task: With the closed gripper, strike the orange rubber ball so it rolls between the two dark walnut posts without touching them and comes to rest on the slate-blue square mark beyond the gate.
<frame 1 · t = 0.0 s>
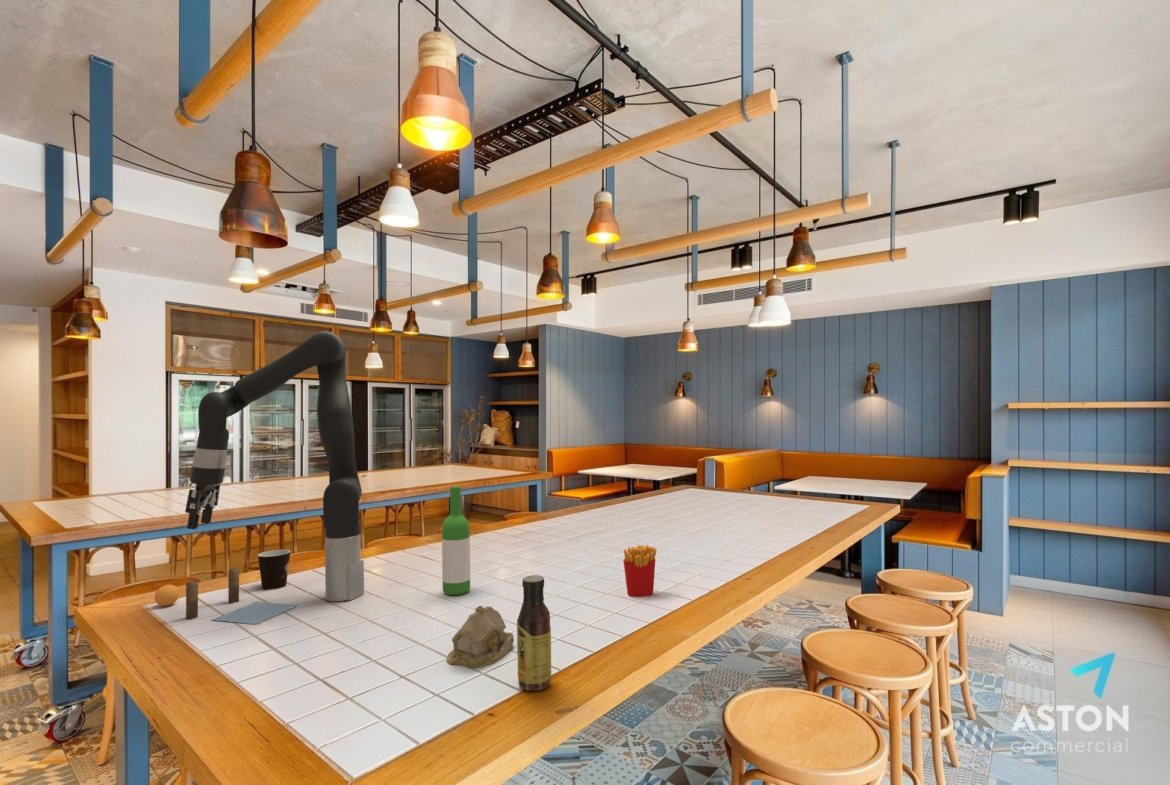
hand: (199, 525, 151), 22 cm above the table, tool pointing down, fingers open, 8 cm apart
left post: (191, 617, 144), on the table
french fries: (641, 594, 155), on the table
wine bottle: (456, 592, 161), on the table
ceramic model: (480, 655, 119), on the table
right post: (233, 601, 156), on the table
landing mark: (256, 612, 147), on the table
sauce bottle: (534, 686, 104), on the table
ball: (167, 595, 154), on the table
coffee mug: (277, 585, 171), on the table
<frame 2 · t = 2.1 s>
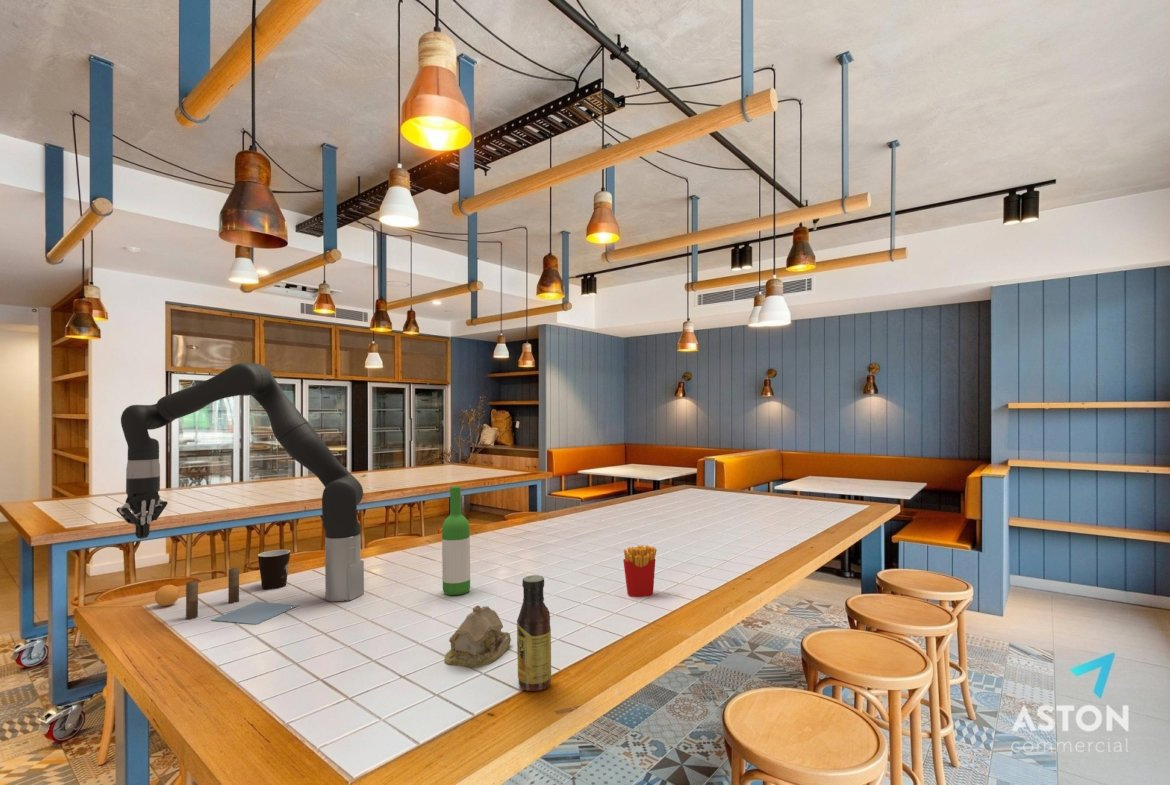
hand: (142, 537, 157), 18 cm above the table, tool pointing down, fingers closed
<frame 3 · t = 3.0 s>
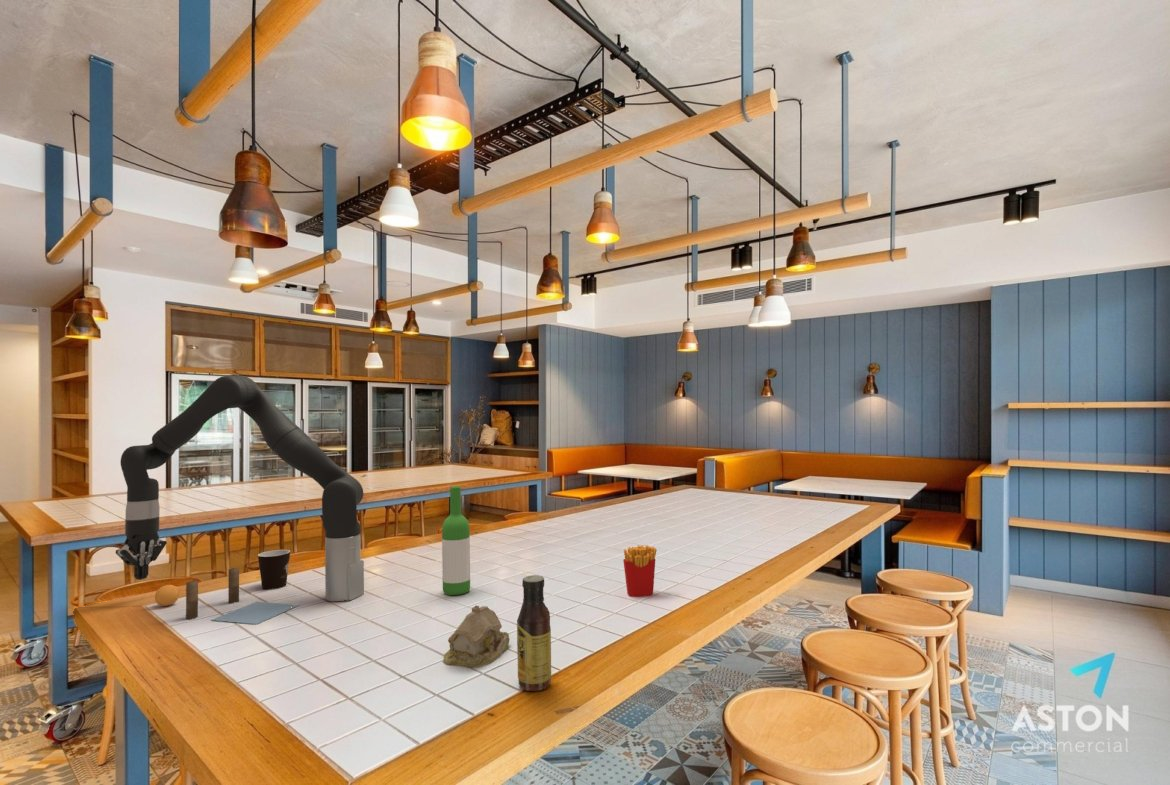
hand: (141, 578, 157), 7 cm above the table, tool pointing down, fingers closed
nothing on the table moved.
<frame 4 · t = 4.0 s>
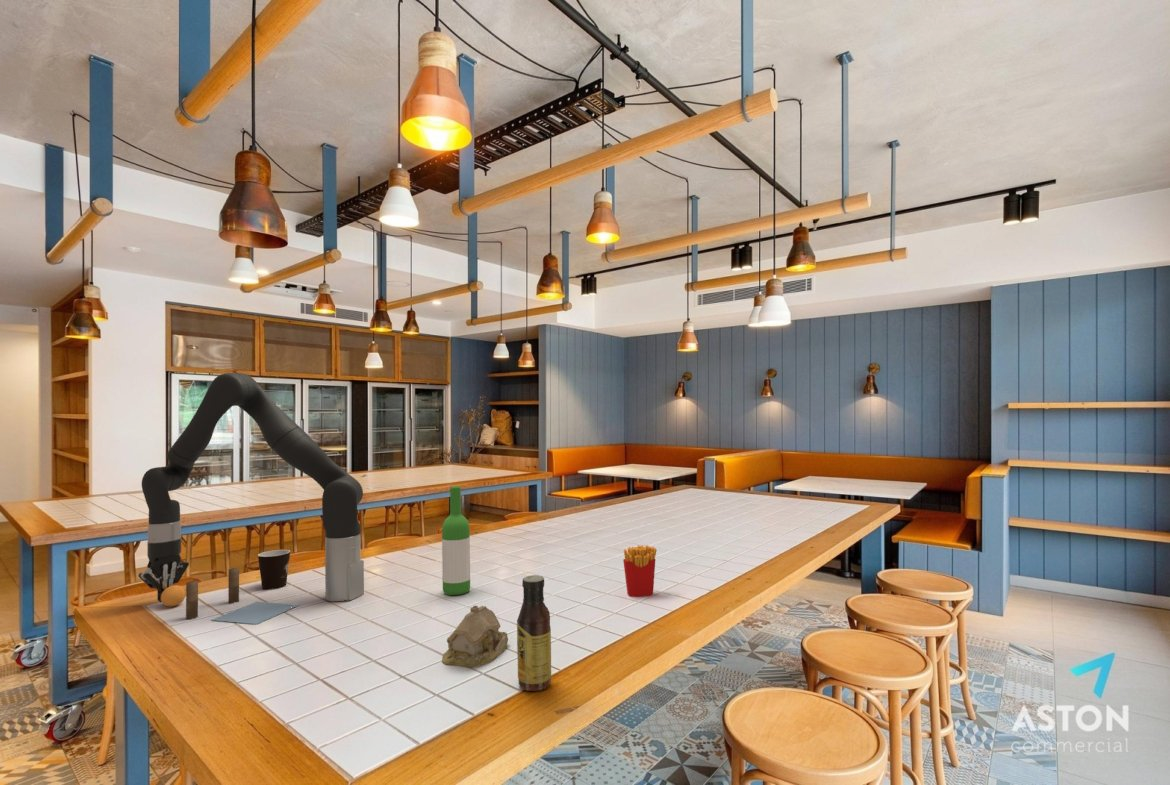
hand: (164, 601, 155), 1 cm above the table, tool pointing down, fingers closed
ball: (173, 595, 154), on the table, touching gripper
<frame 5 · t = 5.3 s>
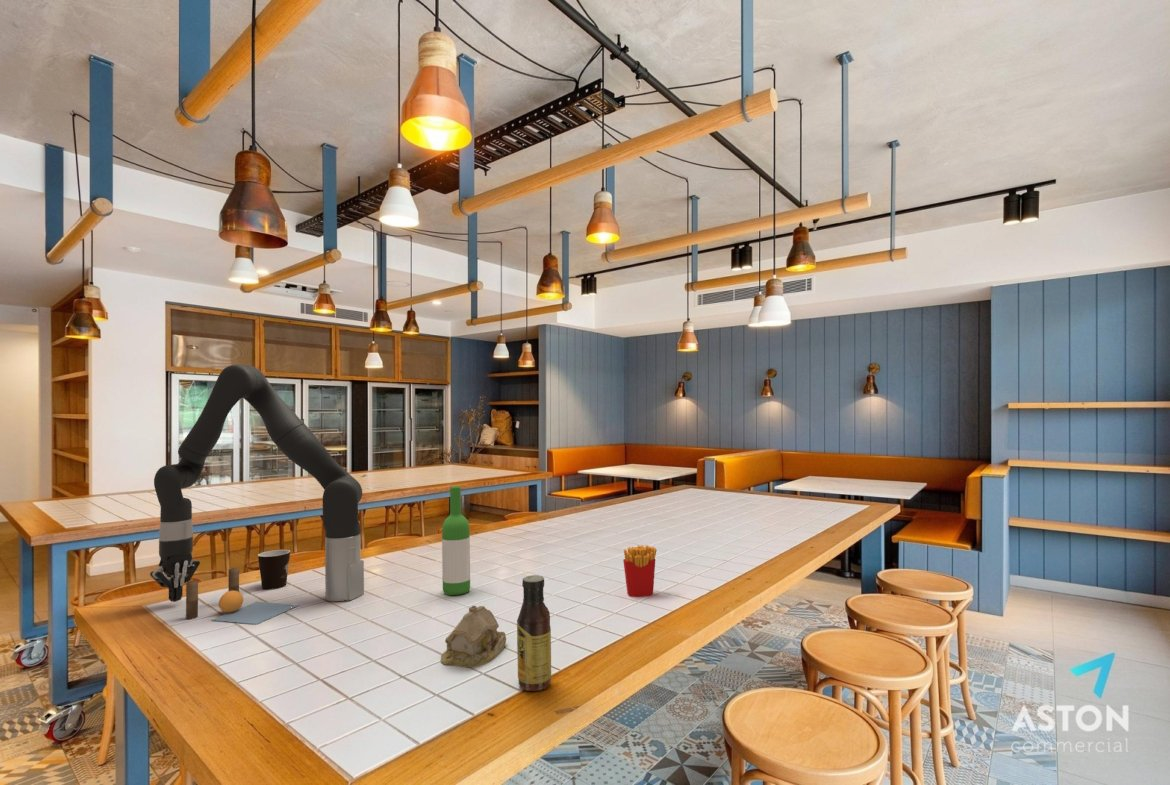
hand: (175, 600, 154), 2 cm above the table, tool pointing down, fingers closed
ball: (231, 601, 148), on the table
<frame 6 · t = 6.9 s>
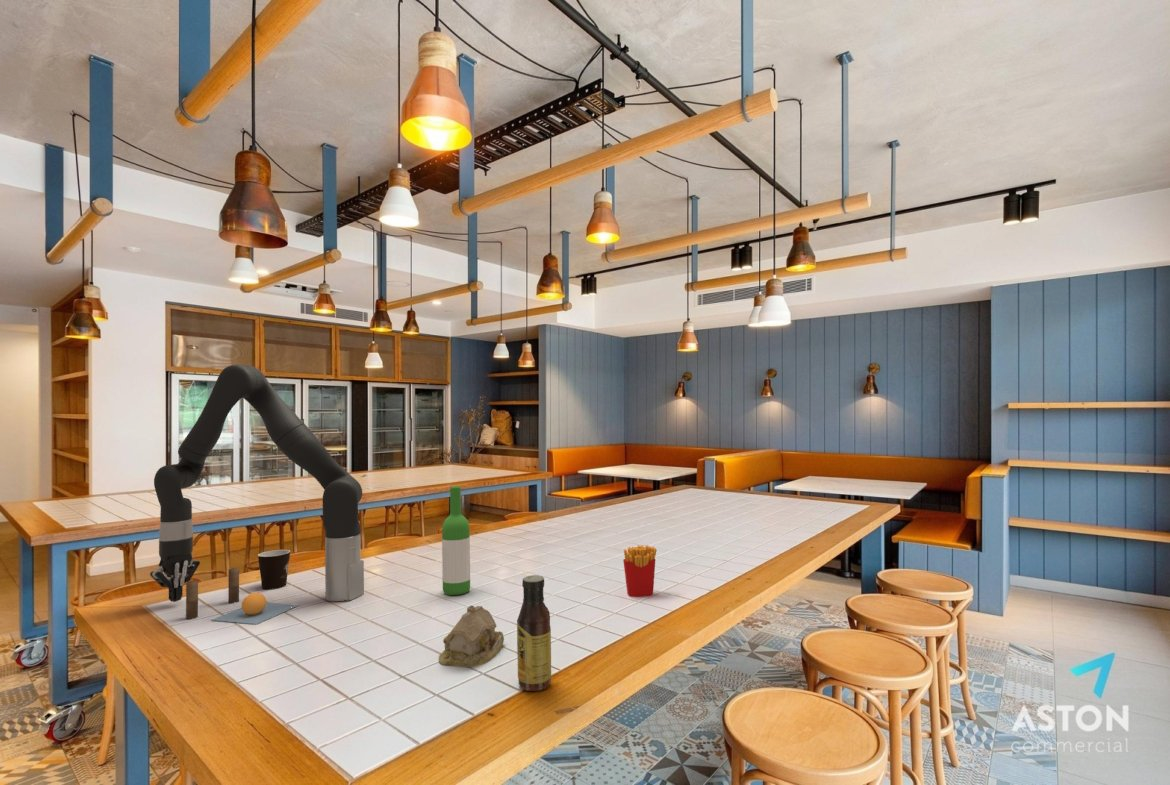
hand: (175, 600, 154), 2 cm above the table, tool pointing down, fingers closed
ball: (254, 603, 146), on the table
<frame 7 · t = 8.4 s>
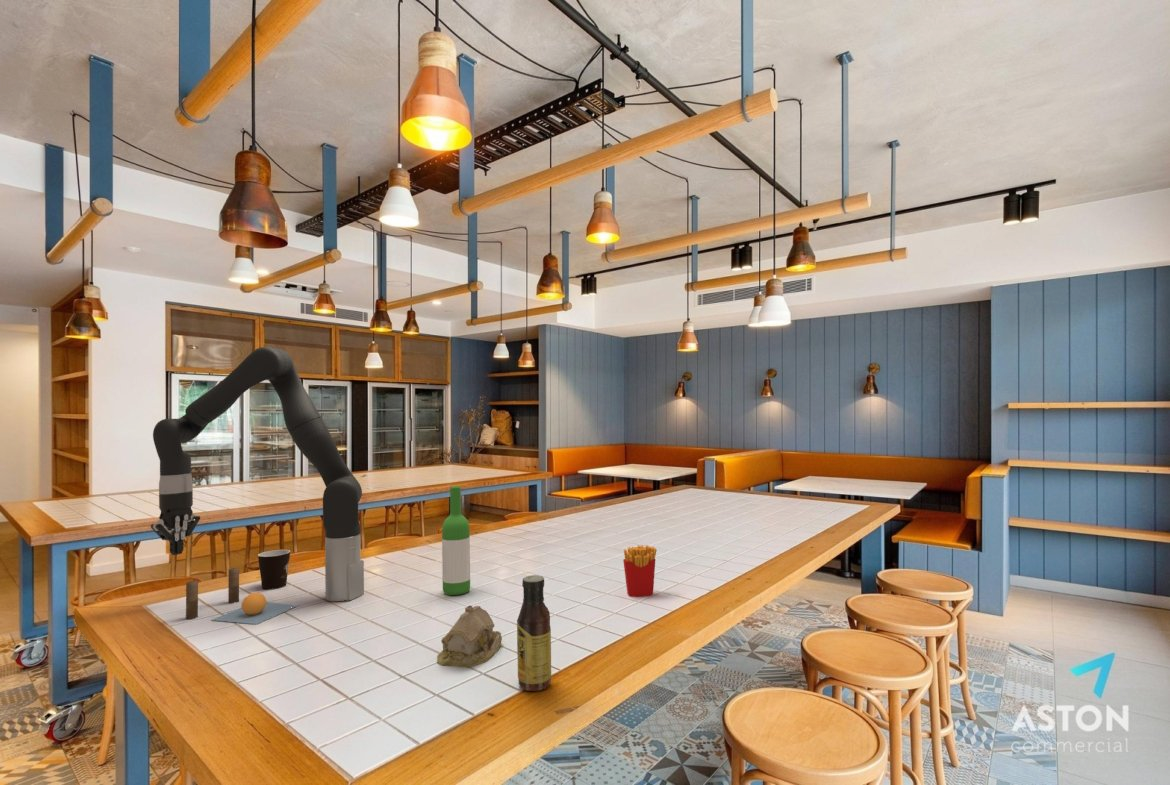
hand: (176, 554, 154), 14 cm above the table, tool pointing down, fingers closed
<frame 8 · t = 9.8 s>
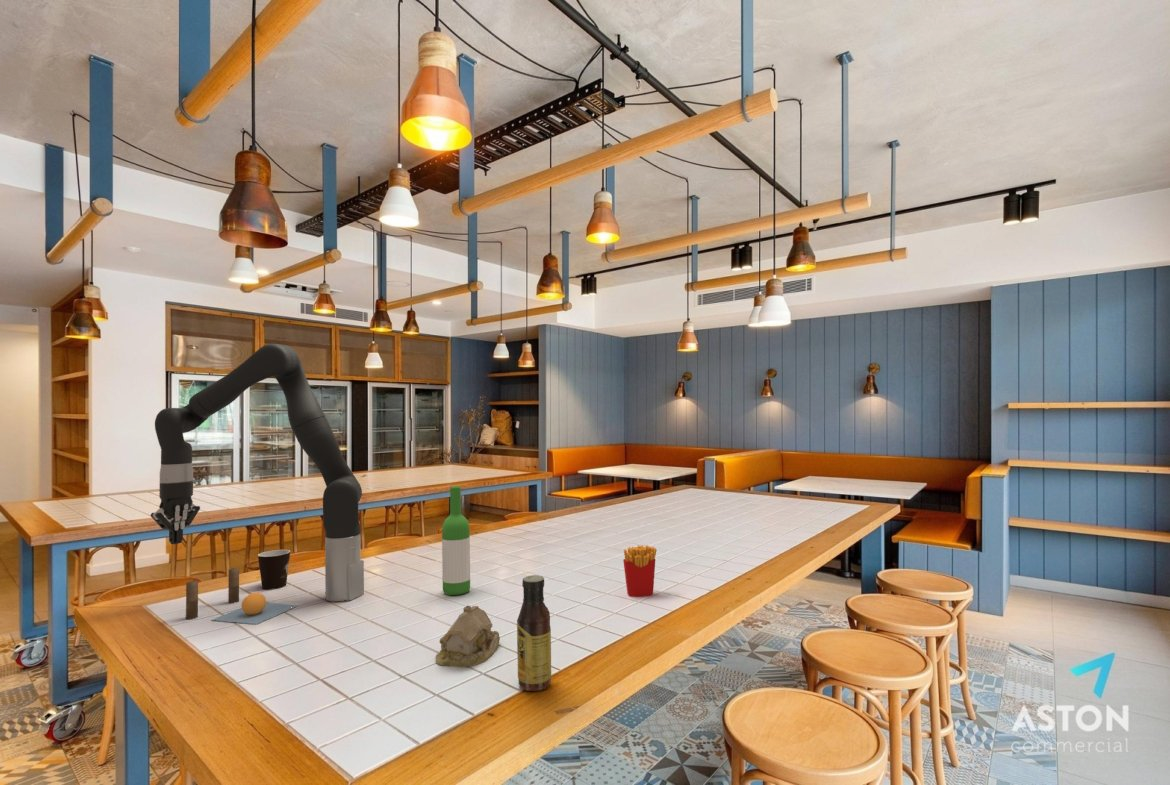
hand: (176, 543, 154), 17 cm above the table, tool pointing down, fingers closed
at the end: ball 1.2 cm from the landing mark (horizontally); ball never touched left post; ball never touched right post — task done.
